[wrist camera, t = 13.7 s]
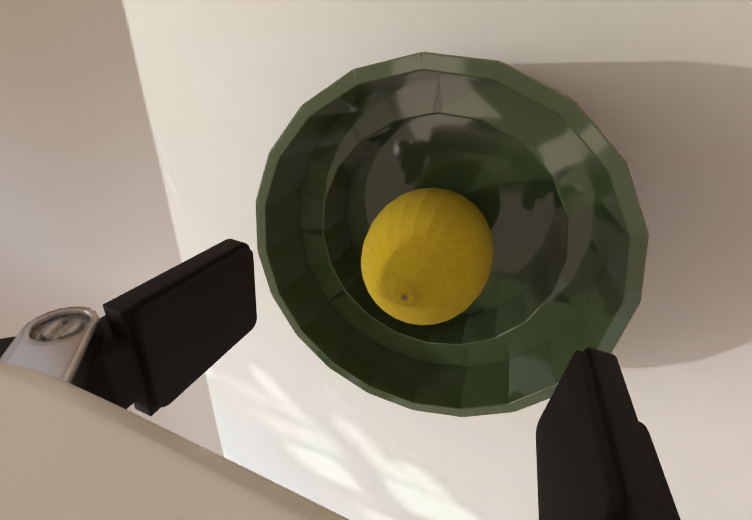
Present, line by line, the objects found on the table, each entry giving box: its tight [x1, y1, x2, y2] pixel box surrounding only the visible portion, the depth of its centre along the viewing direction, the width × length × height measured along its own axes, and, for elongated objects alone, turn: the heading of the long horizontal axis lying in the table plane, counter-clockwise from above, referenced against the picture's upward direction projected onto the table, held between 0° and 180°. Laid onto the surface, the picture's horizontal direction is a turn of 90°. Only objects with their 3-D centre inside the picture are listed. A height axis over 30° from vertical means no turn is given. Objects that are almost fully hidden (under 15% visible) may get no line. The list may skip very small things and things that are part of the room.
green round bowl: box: [256, 52, 648, 417], centre depth 17 cm, size 15×15×6 cm
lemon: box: [361, 187, 494, 325], centre depth 16 cm, size 6×6×8 cm
